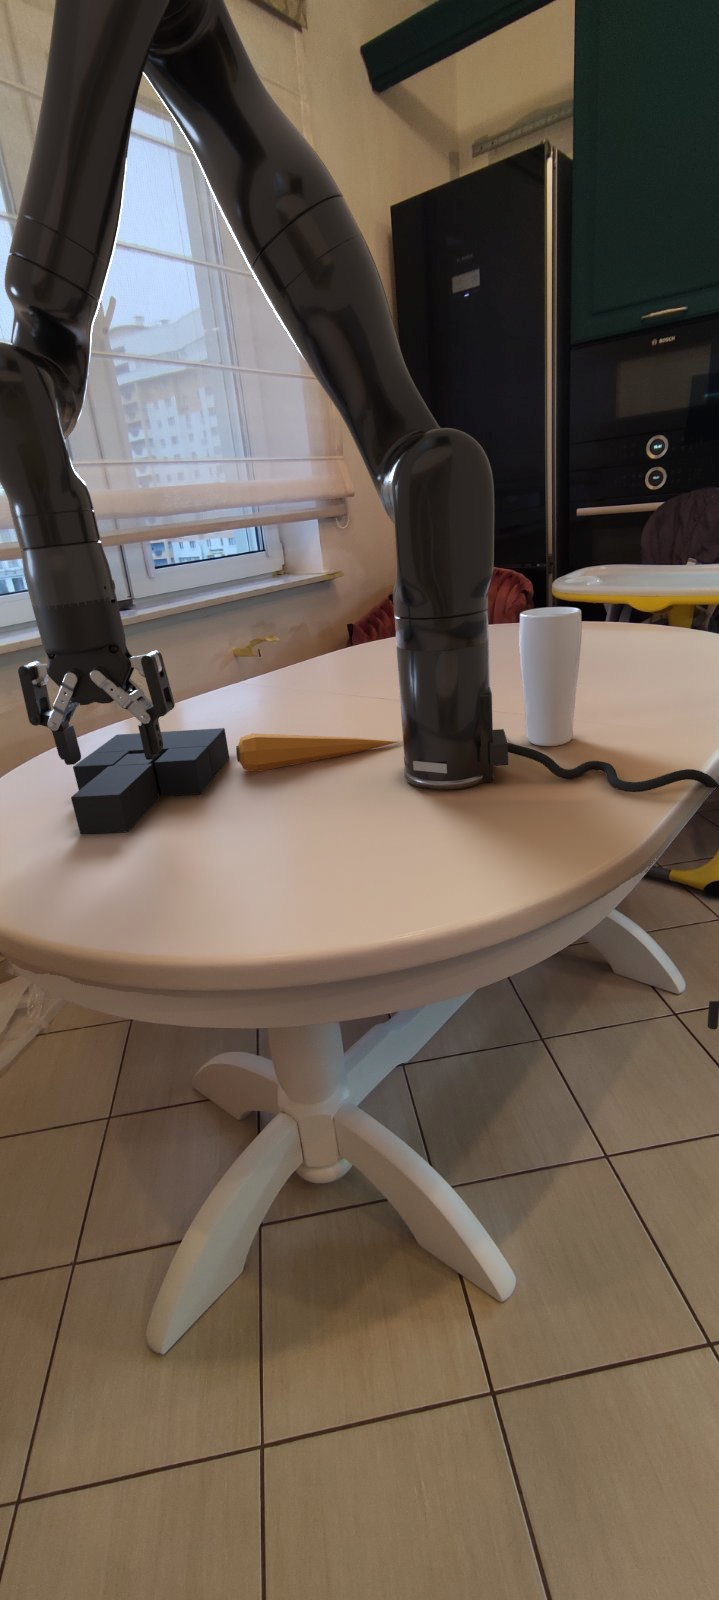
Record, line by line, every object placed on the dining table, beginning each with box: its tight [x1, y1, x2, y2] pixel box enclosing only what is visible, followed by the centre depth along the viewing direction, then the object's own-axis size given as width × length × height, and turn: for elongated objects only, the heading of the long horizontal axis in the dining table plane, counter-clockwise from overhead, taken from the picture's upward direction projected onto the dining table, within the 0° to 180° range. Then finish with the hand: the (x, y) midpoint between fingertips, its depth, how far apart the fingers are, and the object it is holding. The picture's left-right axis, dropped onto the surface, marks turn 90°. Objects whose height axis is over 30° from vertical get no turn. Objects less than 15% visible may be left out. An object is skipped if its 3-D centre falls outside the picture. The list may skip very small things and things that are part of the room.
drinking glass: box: [518, 606, 583, 747], centre depth 83 cm, size 7×7×15 cm
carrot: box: [235, 733, 398, 773], centre depth 87 cm, size 20×4×4 cm, turn 106°
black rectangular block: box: [70, 753, 161, 835], centre depth 77 cm, size 5×13×4 cm, turn 175°
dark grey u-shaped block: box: [72, 727, 230, 797], centre depth 85 cm, size 14×12×4 cm
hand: (113, 759), depth 74 cm, fingers open, 8 cm apart
